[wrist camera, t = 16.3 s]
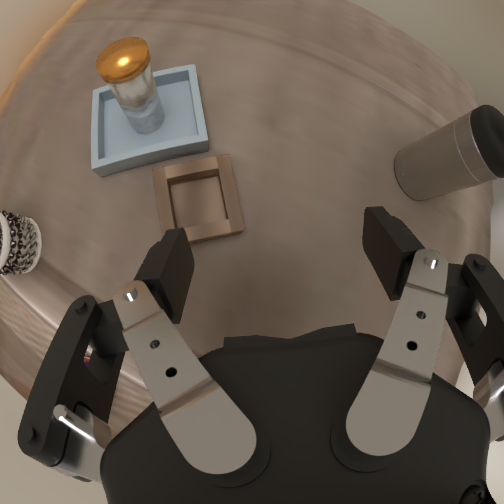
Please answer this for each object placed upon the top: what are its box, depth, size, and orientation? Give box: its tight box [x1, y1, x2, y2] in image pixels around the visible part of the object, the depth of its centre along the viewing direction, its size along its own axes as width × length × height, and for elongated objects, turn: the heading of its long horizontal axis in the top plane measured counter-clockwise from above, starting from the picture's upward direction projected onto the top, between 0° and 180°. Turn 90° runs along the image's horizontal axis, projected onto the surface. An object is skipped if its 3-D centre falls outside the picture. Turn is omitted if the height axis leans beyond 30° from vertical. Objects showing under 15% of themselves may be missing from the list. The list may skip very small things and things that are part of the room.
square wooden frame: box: [152, 154, 245, 244], centre depth 31 cm, size 9×9×4 cm
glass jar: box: [96, 37, 165, 134], centre depth 25 cm, size 5×5×14 cm
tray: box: [91, 64, 208, 177], centre depth 31 cm, size 15×13×4 cm
